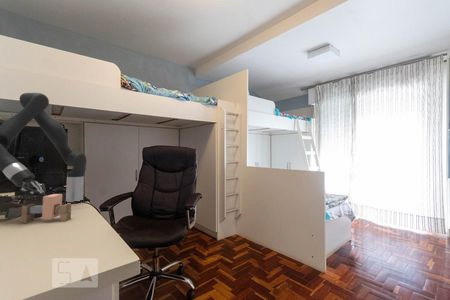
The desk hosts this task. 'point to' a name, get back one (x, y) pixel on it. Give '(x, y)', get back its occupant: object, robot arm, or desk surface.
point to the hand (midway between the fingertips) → (46, 200)
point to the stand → (64, 213)
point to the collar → (51, 205)
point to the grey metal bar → (39, 209)
